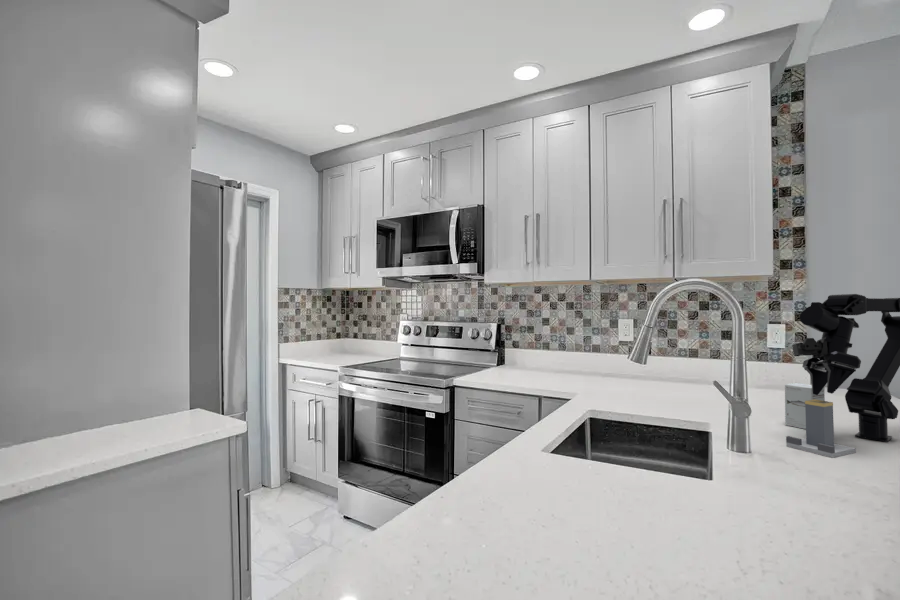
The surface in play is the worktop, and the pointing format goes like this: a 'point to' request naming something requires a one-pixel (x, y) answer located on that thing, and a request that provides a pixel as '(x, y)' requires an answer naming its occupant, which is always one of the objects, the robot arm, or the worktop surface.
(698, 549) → the worktop surface
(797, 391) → the supplement box
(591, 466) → the worktop surface
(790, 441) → the pad
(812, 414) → the grey block
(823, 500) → the worktop surface
